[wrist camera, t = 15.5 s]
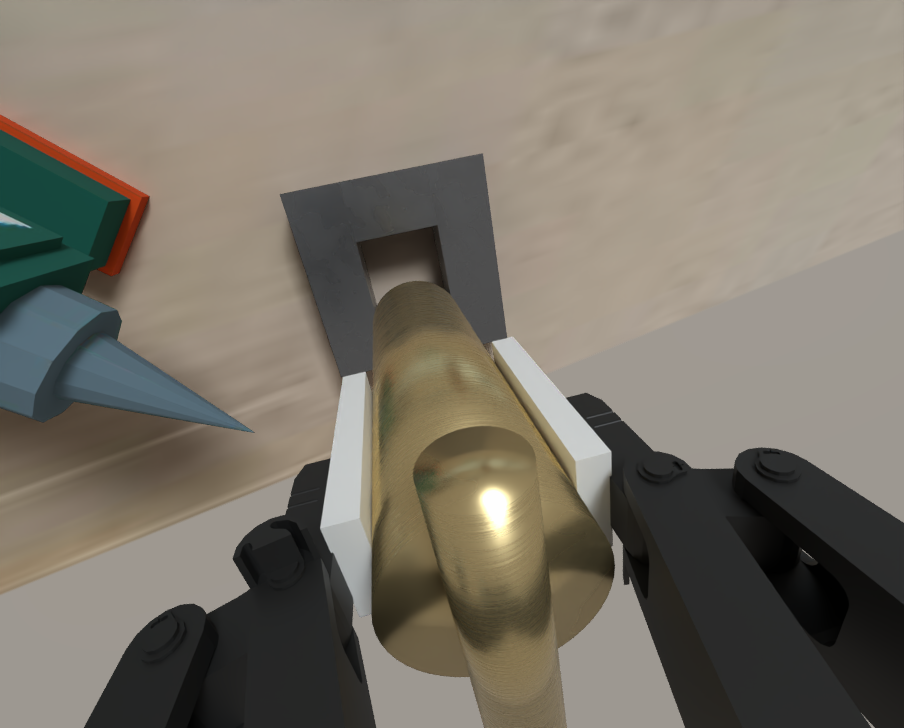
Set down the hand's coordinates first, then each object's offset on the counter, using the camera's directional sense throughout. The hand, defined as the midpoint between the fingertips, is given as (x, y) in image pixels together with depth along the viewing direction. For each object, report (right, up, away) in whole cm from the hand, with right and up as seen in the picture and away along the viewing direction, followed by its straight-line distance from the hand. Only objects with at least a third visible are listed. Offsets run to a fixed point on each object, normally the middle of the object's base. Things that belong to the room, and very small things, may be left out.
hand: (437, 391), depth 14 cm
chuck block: (-4, +9, +20) cm, 23 cm away
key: (-1, +3, +6) cm, 7 cm away
